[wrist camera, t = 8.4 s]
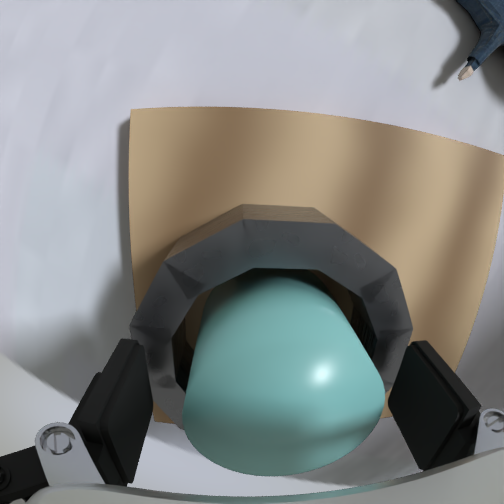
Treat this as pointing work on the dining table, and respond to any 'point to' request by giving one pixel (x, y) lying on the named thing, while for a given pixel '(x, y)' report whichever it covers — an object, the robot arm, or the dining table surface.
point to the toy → (484, 31)
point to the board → (324, 201)
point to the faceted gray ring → (266, 256)
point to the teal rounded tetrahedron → (278, 377)
